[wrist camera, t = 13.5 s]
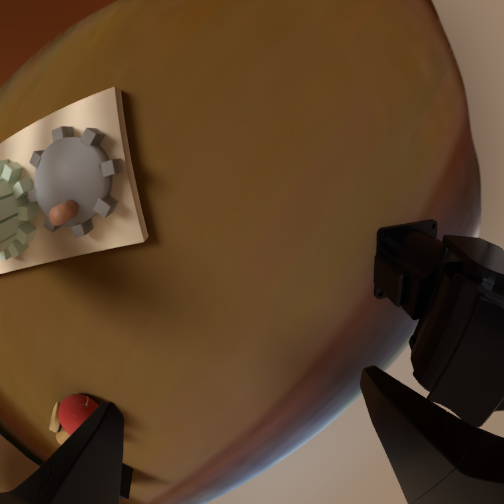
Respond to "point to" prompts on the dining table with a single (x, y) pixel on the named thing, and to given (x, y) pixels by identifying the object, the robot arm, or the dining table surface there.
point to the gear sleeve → (15, 211)
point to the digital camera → (125, 481)
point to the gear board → (123, 189)
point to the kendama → (70, 415)
